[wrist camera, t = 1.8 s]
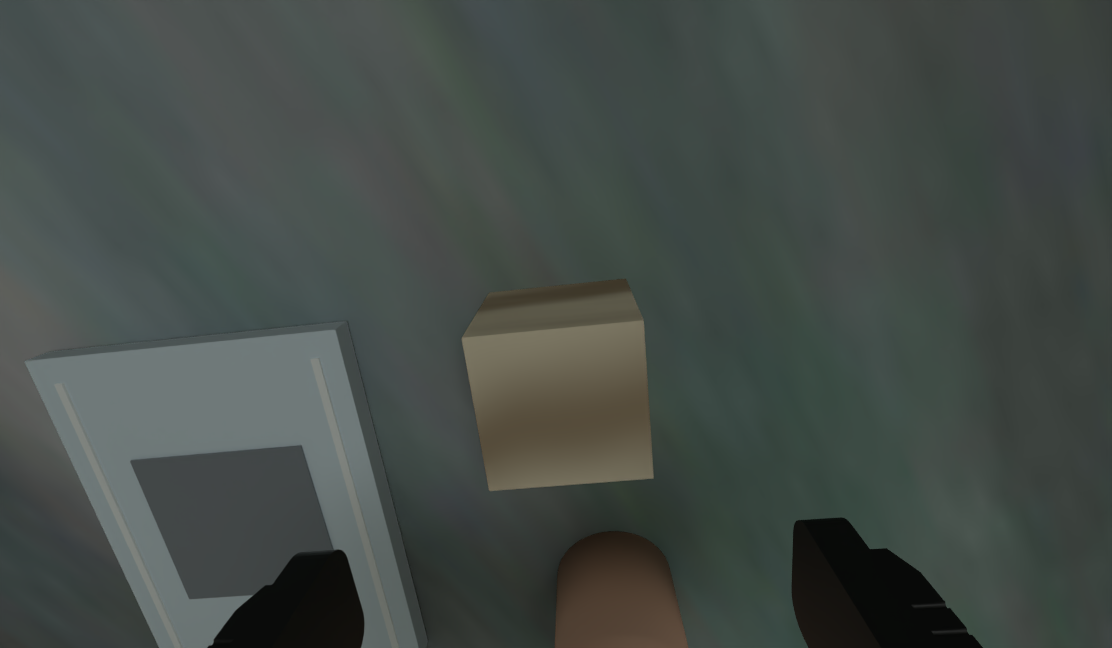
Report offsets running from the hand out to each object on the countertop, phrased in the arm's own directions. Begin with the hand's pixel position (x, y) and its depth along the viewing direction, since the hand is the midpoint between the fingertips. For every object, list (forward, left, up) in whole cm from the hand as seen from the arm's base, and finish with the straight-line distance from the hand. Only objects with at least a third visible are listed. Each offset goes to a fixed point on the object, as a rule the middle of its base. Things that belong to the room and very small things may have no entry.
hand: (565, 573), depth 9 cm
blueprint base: (+6, -14, -11) cm, 19 cm away
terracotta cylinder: (+11, +1, -11) cm, 15 cm away
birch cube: (0, 0, -11) cm, 11 cm away
